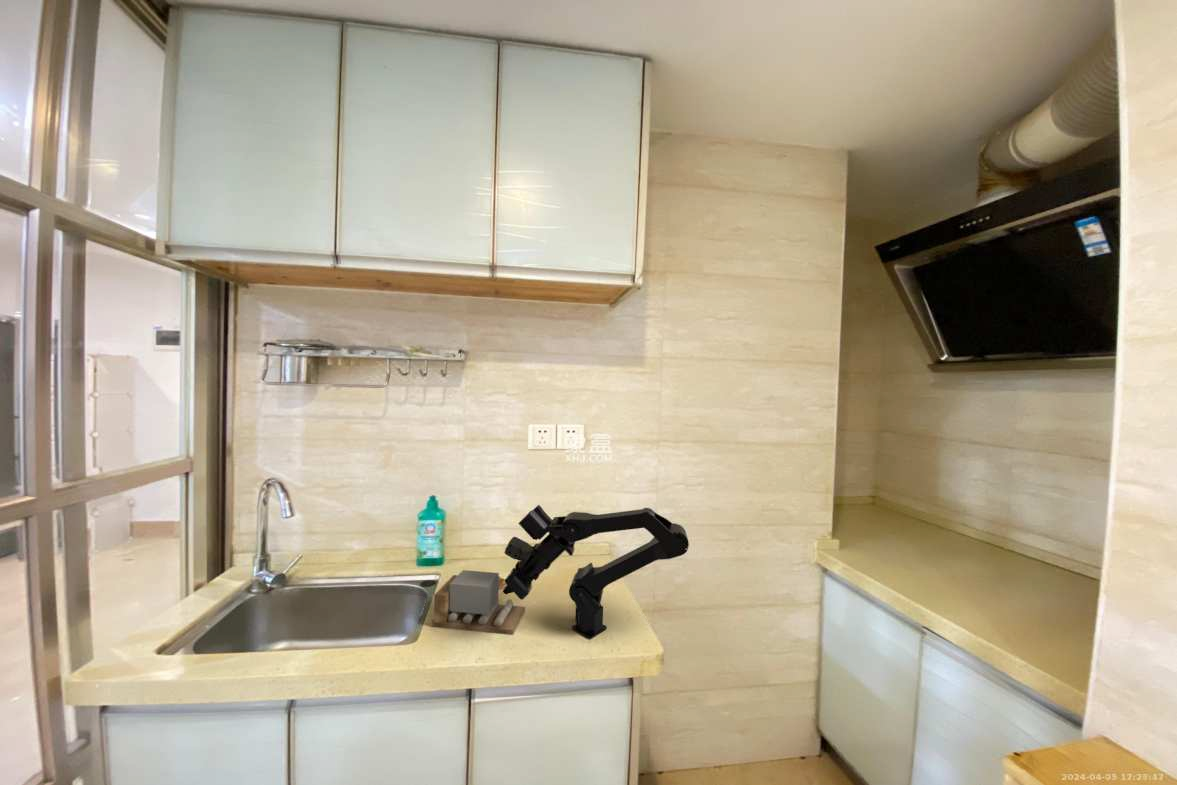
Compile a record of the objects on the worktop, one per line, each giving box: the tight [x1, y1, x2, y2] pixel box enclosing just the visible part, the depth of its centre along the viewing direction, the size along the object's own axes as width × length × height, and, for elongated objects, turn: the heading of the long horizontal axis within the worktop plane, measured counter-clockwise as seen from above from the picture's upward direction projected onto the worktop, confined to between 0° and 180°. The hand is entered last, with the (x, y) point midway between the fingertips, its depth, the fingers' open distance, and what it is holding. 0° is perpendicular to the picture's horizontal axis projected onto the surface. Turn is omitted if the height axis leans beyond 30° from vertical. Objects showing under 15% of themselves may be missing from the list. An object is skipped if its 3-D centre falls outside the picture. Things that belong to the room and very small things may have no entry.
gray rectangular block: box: [449, 569, 500, 615], centre depth 114 cm, size 10×8×7 cm
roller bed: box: [430, 574, 526, 636], centre depth 114 cm, size 21×11×8 cm, turn 82°
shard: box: [499, 576, 507, 591], centre depth 130 cm, size 11×8×2 cm
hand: (504, 592), depth 113 cm, fingers closed
